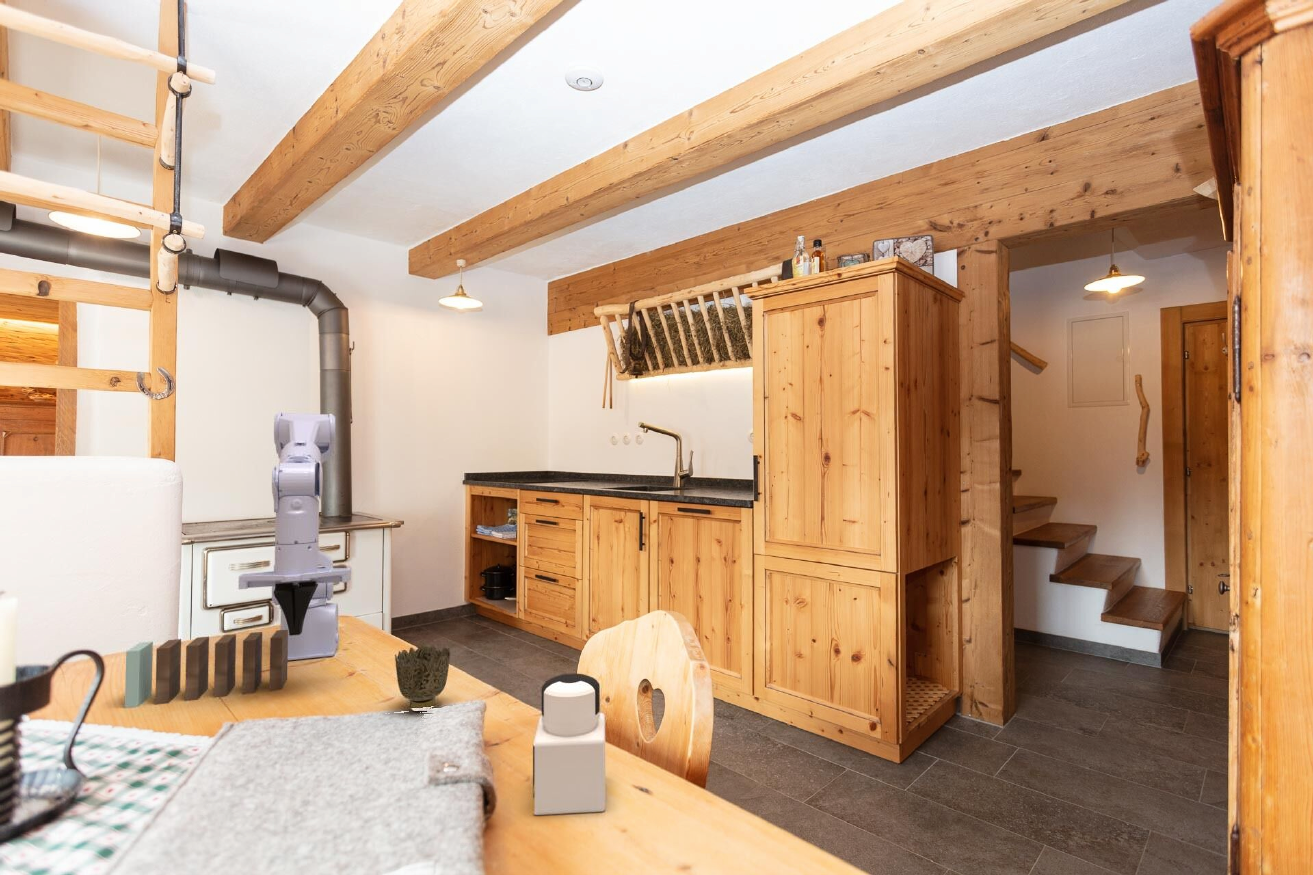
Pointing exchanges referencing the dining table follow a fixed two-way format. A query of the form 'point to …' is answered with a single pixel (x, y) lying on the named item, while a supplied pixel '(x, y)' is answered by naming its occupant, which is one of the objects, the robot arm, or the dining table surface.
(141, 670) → the domino
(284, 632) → the domino
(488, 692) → the dining table surface
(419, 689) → the cup
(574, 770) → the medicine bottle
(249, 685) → the domino
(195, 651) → the domino
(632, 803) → the dining table surface
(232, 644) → the domino
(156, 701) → the domino
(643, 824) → the dining table surface
